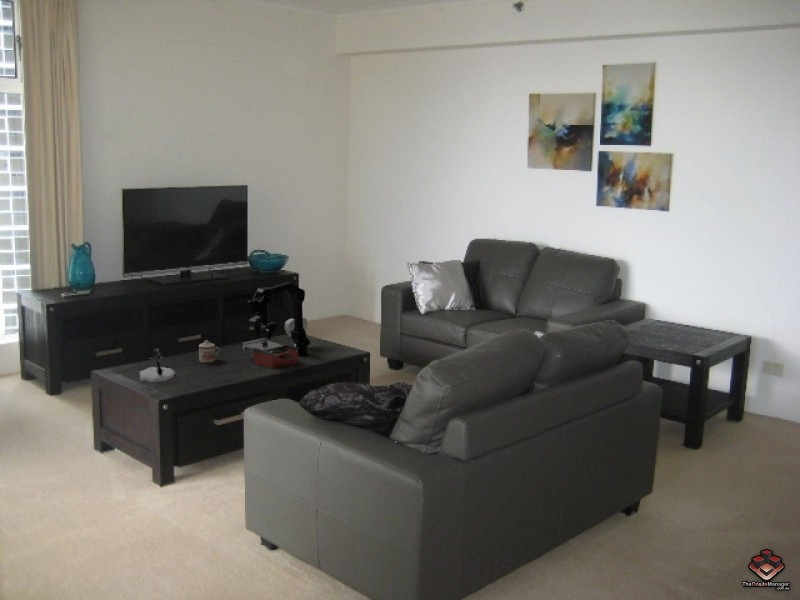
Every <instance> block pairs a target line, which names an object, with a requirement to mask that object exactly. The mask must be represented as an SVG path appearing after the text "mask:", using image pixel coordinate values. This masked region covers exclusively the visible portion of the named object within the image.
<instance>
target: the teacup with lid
mask: <svg viewBox="0 0 800 600" xmlns="http://www.w3.org/2000/svg"><path fill="white" fill-rule="evenodd" d="M216 349H217V352H216ZM220 351H221V350H220V348H219V347H218V346H216V345H215V343H212V342H210V341H209V340H204V341H203V342H202V343H200V344H199V345H198V361H199V362H200V363H204V364H209V363H213V362H215V361H216V356H218V355H219V353H220ZM215 352H216V353H215Z"/></svg>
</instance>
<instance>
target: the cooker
mask: <svg viewBox="0 0 800 600" xmlns="http://www.w3.org/2000/svg"><path fill="white" fill-rule="evenodd" d="M277 343H278V344H281V345H285V347H283V348H278V349H274V350H270V351H265V350H261V349H258V348H254V349H253V363H254V364H256V365H259V366H263V367H266V368H269V369H272V370H273V369H278V368H280V367H285V366H289V365H292V364H296V363H299V355H298V348H297V347H294V345H290V344H286V343H283V342H277Z"/></svg>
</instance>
